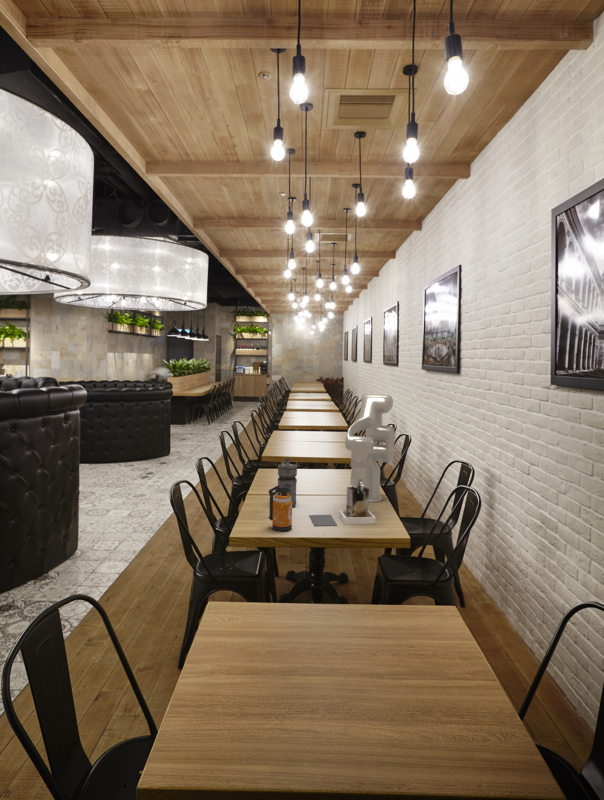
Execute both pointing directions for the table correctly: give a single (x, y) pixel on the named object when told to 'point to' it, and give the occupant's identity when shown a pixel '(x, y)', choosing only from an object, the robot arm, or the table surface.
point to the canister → (280, 508)
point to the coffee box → (357, 503)
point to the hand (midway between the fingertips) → (357, 498)
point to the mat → (323, 520)
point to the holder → (357, 518)
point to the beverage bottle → (288, 478)
